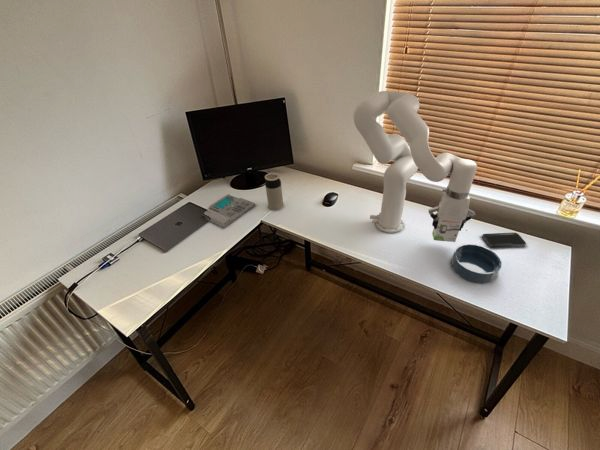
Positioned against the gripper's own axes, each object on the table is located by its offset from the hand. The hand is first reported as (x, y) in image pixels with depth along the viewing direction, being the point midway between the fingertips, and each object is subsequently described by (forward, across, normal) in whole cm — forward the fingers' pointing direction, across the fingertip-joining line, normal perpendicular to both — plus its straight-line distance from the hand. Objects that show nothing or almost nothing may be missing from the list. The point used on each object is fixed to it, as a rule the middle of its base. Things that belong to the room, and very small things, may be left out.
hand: (446, 227), depth 124 cm
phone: (+10, +26, +6) cm, 28 cm away
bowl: (+10, +10, -12) cm, 18 cm away
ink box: (+6, 0, 0) cm, 6 cm away
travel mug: (+9, -79, +21) cm, 82 cm away
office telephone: (+9, -104, +14) cm, 106 cm away
